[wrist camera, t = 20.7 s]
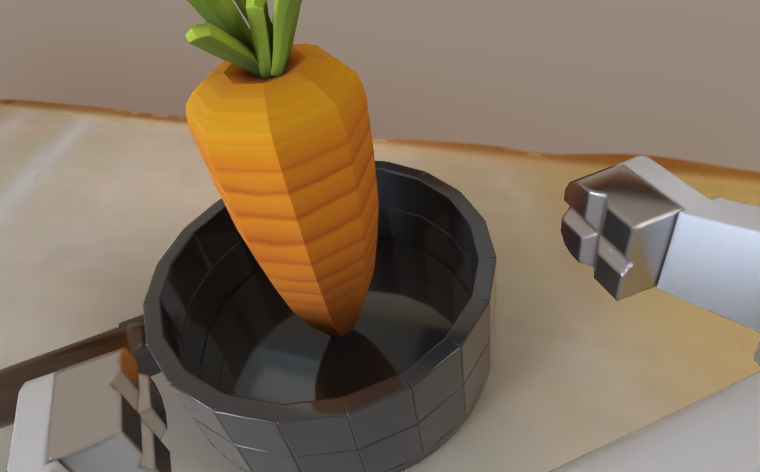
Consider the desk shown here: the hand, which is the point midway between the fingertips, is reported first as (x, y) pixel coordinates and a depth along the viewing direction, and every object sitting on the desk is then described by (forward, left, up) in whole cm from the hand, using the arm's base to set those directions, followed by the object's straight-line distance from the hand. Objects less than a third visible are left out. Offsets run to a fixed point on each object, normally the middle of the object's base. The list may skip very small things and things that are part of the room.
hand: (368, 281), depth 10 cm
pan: (0, +8, -11) cm, 13 cm away
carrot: (0, +7, -10) cm, 13 cm away
